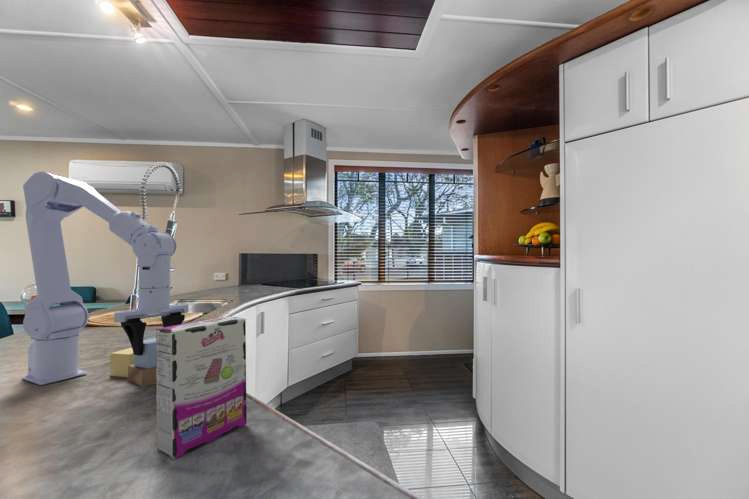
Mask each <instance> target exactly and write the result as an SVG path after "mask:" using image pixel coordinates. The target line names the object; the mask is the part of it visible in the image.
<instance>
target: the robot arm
mask: <svg viewBox="0 0 749 499" xmlns="http://www.w3.org/2000/svg"><path fill="white" fill-rule="evenodd" d="M22 188H23V194H24V200H25V201H24V202H25V221H26V229H27V234H28V242H29V248H30V254H31V261H32V267H33V268H32V269H33V273H34V274H33V275H34V280H35V281H34V282H35V285H36V295H35V296H34V297H33V298H32V299H30V300H29V301H28V302H27V303H25V305H24V309H25V311H24V312H25V313H24V314H25V315H24V318H23V320H22V321H23V322H22V326H23V330H24V332H25V333H26V335H27V336H28V337H30V340H31V343H30V344H29V346H28V349H27V350H28V352H27V354H28V355H27V357H28V358H27V374H25V375H22V376H21V379H23V380H26V381H28V382H31V383H32V384H33V383H34V384H36V385H40V386H42V385H43V386H45V385H47V384H52V383H56V382H59V381H63V380H67V379H72V378H76V377H80V376H83V375H87V374H88V372H87V371H85V370H83V369H79V361H80V360H79V359H80V358H79V356H80V355H79V354H80V353H79V350H80V334H81V333H82V332H83V328H84V327H86V325H87V324H88V323H89V319H90V314H89V311H88V308H87V307H86V306H85V304H84V301H83V297H82V296H81V295H80V294H78V293H77V292H75V291H74V290H72V287H71V282H70V276H69V268H68V262H67V255H66V249H65V244H64V237H63V231H62V224H61V223H62V222H63V220H64V219H65V218H68V217H70V216H71V215H72V214H73V215H74V213H76V212H78V211H79V210H81V209H82V208H85V209H87V211H90V212H91V213H93V214H95V215H96V216H97V217H98V218H101V219H102V220H104V221H106V223H108V227H109V228H108V229H109V231H110V232H111V233H113V234H114V235H116V236H117V237H118V238H119V239H121V240H123V241H124V242H126V243H127V244H128V245H130V246H131V249H132V251H133V253H134V254H135V256H136V259H137V265H138V266H139V267H138V270H139V271H138V272H139V273H138V308H132V309H129V310H122V311H116V312H115V311H114V316H113V322H114V323H118V324H119V323H120V326H121V328H122V329H123V331H124V332H125V334H126V336H127V337H128V340H129V342H130V346H131V348H132V350H133V354H134V355H142V354H143V340H144V337H145V336H144V335H145V332H146V328H147V325H148V324H147V322H145V321H143V320H142V319H149V318H150V319H151V318H155V317H156V318H158V317H161V318H160V319H161V323H162V328H164V327H169V326H175V325H181V324H183V322H184V320H185V319H186V315H185V314H189V312H190V311H189V309H190V308H189V306H190V305H189V304H187V303H181V304H171V257H172V256H173V255H174V254H175V252H176V250H177V242H176V240H175V238H174V237H173V236H172V235H171V234H170V233H168V232H159V230H158V227H157V226H156V225H154V224H153V225H152V224H149V223H147V221H145V220H144V219H142V218H141V217H142V215H141V213H138V212H136V211H130V210H126V211H122V210H120V209H119V208H118V207H117V206H115V205H114V204H113V203H112V202H110V200H108V199H107V198H105V197H104V196H103V195H101V193H99V192H98V191H97V190H96V189H95V187H93V186H91V185H89V184H88V183H87V182H85V181H82V180H76V179H72V178H68V177H65V176H60V175H56V174H52V173H50V172H46V171H37V172H35V173H33V174H32V175H31V176H30V177H29V178H28V179H27V180H26V182H24V184H23V185H22ZM54 305H56V306H54ZM32 340H33V341H32Z"/></svg>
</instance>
